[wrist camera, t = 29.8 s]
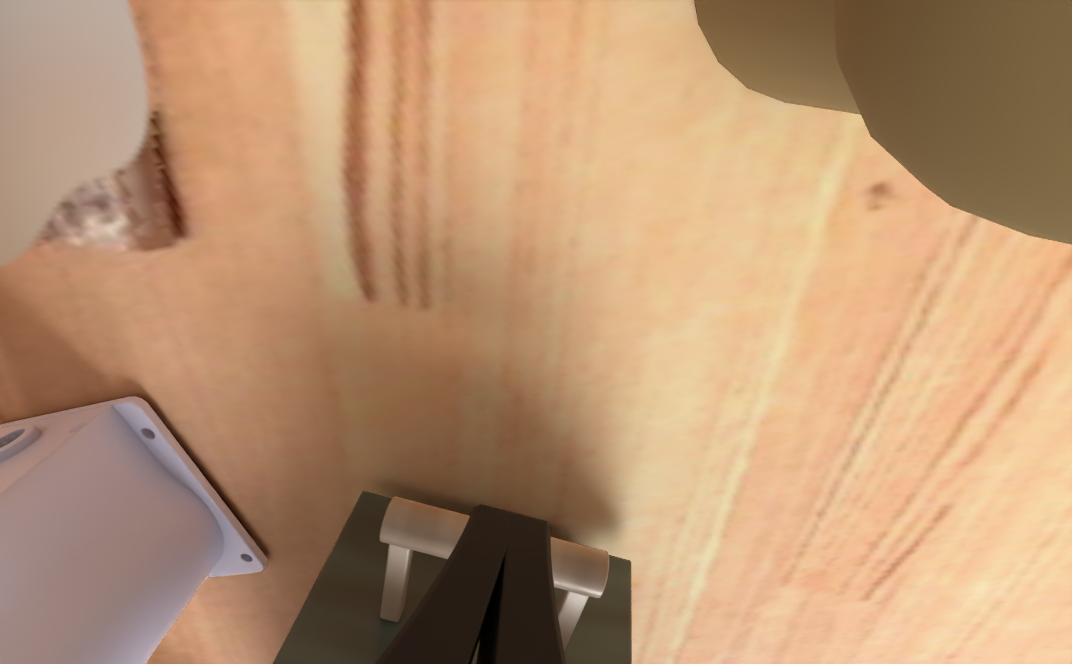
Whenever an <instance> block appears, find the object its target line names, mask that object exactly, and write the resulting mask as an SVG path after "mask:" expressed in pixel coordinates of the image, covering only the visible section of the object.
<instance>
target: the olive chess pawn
mask: <svg viewBox="0 0 1072 664" xmlns="http://www.w3.org/2000/svg"><path fill="white" fill-rule="evenodd" d="M695 6H696V12H697V18H698V24H699V26H700V28H701V30H702V32H703V34H704V35H705V37H706V39H707V41H708V43H709V45H710V47H711V49H712V51H713V53H714V54H715V56H716V58H717V60H718V62H719V63H720V64H721V65H723V66H724V67H725V68H726V69H727V70H728V71H729V72H730V73H731V74H733V75H734V76H735V77H736V78H737V79H738V80H739V81H740V82H742V83H743V84H744V85H745V86H746V87H747V88H749V89H751V90H754V91H757V92H759V93H762V94H764V95H767V96H770V97H772V98H775V99H777V100H780V101H783V102H786V103H792V104H798V105H805V106H811V107H817V108H824V109H830V110H836V111H842V112H849V113H855V114H861V115H862V118H863V120H864V122H865V124H866V127H867V129H868V131H869V133H870V135H871V137H872V138H873V139H874V140H875V141H877V142H878V143H879V144H880V145H881V146H882V147H883V148H884V149H885V150H886V151H887V152H888V153H890V154H891V155H892V156H893V157H894V158H895V159H896V160H897V161H898V162H899V163H900V164H901V165H903V166H904V167H905V168H906V169H907V170H908V171H909V172H910V173H911V174H912V175H913V176H914V177H915V178H917V179H918V180H919V181H920V182H921V183H922V184H923V185H924V186H925V187H927V188H928V189H929V190H931V191H932V192H933V193H935V194H936V195H937V196H939V197H940V198H941V199H942V200H944V201H945V202H946V203H948V204H949V205H950V206H952V207H955V208H958V209H960V210H963V211H966V212H968V213H971V214H974V215H976V216H979V217H982V218H984V219H987V220H989V221H992V222H995V223H997V224H1000V225H1003V226H1005V227H1008V228H1011V229H1013V230H1016V231H1019V232H1021V233H1024V234H1027V235H1029V236H1034V237H1039V238H1044V239H1048V240H1053V241H1058V242H1063V243H1068V244H1072V0H695Z"/></svg>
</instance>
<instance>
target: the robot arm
mask: <svg viewBox="0 0 1072 664" xmlns="http://www.w3.org/2000/svg"><path fill="white" fill-rule="evenodd" d="M267 564H268V560H267V558H266V556H265V555H264V554H263V552H262V551H261V550H260V548H259V547H258V546H257V544H256V543H255V542H254V541H253V539H252V538H251V537H250V535H249V534H248V533H247V531H246V530H245V529H244V528H243V526H242V525H241V524H240V522H239V521H238V520H237V518H236V517H235V516H234V514H233V513H232V512H231V511H230V509H229V508H228V507H227V505H226V504H225V503H224V501H223V500H222V499H221V498H220V496H219V495H218V494H217V492H216V491H215V490H214V488H213V487H212V486H211V485H210V483H209V482H208V481H207V479H206V478H205V477H204V475H203V474H202V473H201V472H200V470H199V469H198V468H197V466H196V465H195V464H194V462H193V461H192V460H191V459H190V457H189V456H188V455H187V453H186V452H185V451H184V449H183V448H182V447H181V445H180V444H179V443H178V442H177V440H176V439H175V438H174V436H173V435H172V434H171V432H170V431H169V430H168V429H167V427H166V426H165V425H164V423H163V422H162V421H161V419H160V418H159V417H158V416H157V414H156V413H155V412H154V410H153V409H152V408H151V406H150V405H149V404H148V403H147V402H146V401H145V400H143V399H142V398H139V397H136V396H129V397H125V398H120V399H115V400H111V401H106V402H102V403H97V404H92V405H88V406H83V407H78V408H74V409H69V410H64V411H60V412H55V413H50V414H46V415H41V416H37V417H32V418H27V419H23V420H18V421H13V422H9V423H4V424H0V664H146V662H147V661H148V660H149V658H150V657H151V655H152V654H153V653H154V651H155V650H156V648H157V647H158V645H159V644H160V643H161V641H162V640H163V638H164V637H165V636H166V634H167V633H168V631H169V630H170V628H171V627H172V626H173V624H174V623H175V621H176V620H177V619H178V617H179V616H180V614H181V613H182V612H183V610H184V609H185V607H186V606H187V604H188V603H189V602H190V600H191V599H192V597H193V596H194V595H195V593H196V592H197V590H198V589H199V587H200V586H201V585H202V583H203V582H204V580H205V579H206V578H207V577H217V576H227V575H237V574H246V573H256V572H261V571H263V570H264V569H265V567H266V565H267ZM479 640H480V641H479ZM478 643H479V647H478V654H477V661H476V664H567V663H566V658H565V653H564V647H563V642H562V636H561V630H560V625H559V619H558V612H557V606H556V599H555V590H554V581H553V572H552V560H551V527H550V526H549V524H548V523H547V521H543V520H539V519H535V518H532V517H528V516H524V515H520V514H516V513H513V512H509V511H505V510H501V509H497V508H493V507H490V506H486V505H482V504H480V505H477V506H474V507H473V510H472V512H471V515H470V517H469V520H468V522H467V524H466V526H465V528H464V530H463V533H462V535H461V536H460V538H459V540H458V542H457V544H456V546H455V548H454V549H453V551H452V553H451V554H450V556H449V558H448V560H447V561H446V563H445V565H444V566H443V568H442V570H441V571H440V573H439V574H438V576H437V577H436V579H435V580H434V582H433V583H432V585H431V586H430V588H429V589H428V591H427V592H426V594H425V595H424V597H423V598H422V600H421V601H420V603H419V604H418V606H417V607H416V609H415V610H414V612H413V613H412V614H411V616H410V617H409V619H408V620H407V621H406V623H405V624H404V625H403V627H402V628H401V629H400V631H399V632H398V633H397V635H396V636H395V637H394V639H393V640H392V641H391V643H390V644H389V645H388V647H387V648H386V649H385V651H384V652H383V653H382V655H381V656H380V657H379V659H378V660H377V661H376V662H375V664H472V661H473V658H474V655H475V652H476V649H477V646H478Z"/></svg>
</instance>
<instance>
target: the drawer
mask: <svg viewBox="0 0 1072 664" xmlns="http://www.w3.org/2000/svg"><path fill="white" fill-rule="evenodd" d="M469 517H470V516H469V515H465V514H461V513H458V512H454V511H450V510H446V509H442V508H438V507H435V506H431V505H427V504H423V503H419V502H415V501H412V500H408V499H404V498H400V497H393V498H388V497H384V496H381V495H377V494H373V493H369V492H365V491H363V492H362V493H361V495H360V497H359V499H358V501H357V503H356V505H355V507H354V509H353V511H352V513H351V514H350V516H349V518H348V520H347V522H346V524H345V526H344V528H343V530H342V532H341V534H340V536H339V538H338V539H337V541H336V543H335V545H334V547H333V549H332V551H331V553H330V555H329V557H328V559H327V561H326V562H325V564H324V566H323V568H322V570H321V572H320V574H319V576H318V578H317V580H316V582H315V584H314V586H313V587H312V589H311V591H310V593H309V595H308V597H307V599H306V601H305V603H304V605H303V607H302V609H301V610H300V612H299V614H298V616H297V618H296V620H295V622H294V624H293V626H292V628H291V630H290V632H289V634H288V635H287V637H286V639H285V641H284V643H283V645H282V647H281V649H280V651H279V653H278V655H277V657H276V659H275V660H274V662H273V664H375V662H376V661H377V660H378V659H379V657H380V656H381V655H382V653H383V652H384V651H385V649H386V648H387V647H388V645H389V644H390V643H391V641H392V640H393V639H394V637H395V636H396V635H397V633H398V632H399V631H400V629H401V628H402V627H403V625H404V624H405V623H406V621H407V620H408V619H409V617H410V616H411V614H412V613H413V612H414V610H415V609H416V607H417V606H418V604H419V603H420V601H421V600H422V598H423V597H424V595H425V594H426V592H427V591H428V589H429V588H430V586H431V585H432V583H433V582H434V580H435V579H436V577H437V576H438V574H439V573H440V571H441V570H442V568H443V566H444V565H445V563H446V561H447V560H448V558H449V556H450V554H451V553H452V551H453V549H454V548H455V546H456V544H457V542H458V540H459V538H460V536H461V535H462V533H463V530H464V528H465V526H466V524H467V522H468V520H469ZM551 560H552V572H553V581H554V590H555V599H556V606H557V612H558V619H559V625H560V630H561V636H562V642H563V647H564V653H565V658H566V663H567V664H632V640H631V561H630V560H626V559H622V558H618V557H614V556H611V555H609V554H608V552H606V551H603V550H599V549H595V548H592V547H588V546H584V545H580V544H576V543H572V542H569V541H565V540H561V539H557V538H553V537H551ZM479 641H480V640H479ZM478 647H479V643H478V646H477V649H476V652H475V655H474V658H473V661H472V664H476V661H477V654H478Z"/></svg>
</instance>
